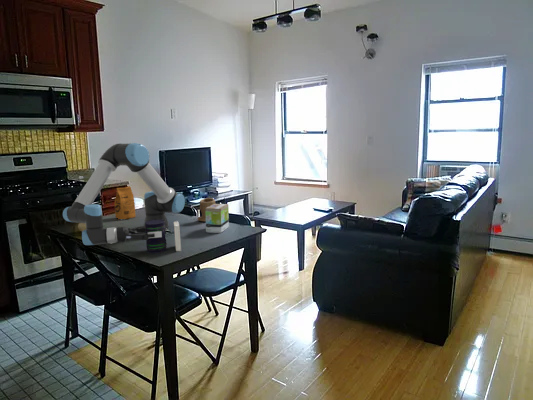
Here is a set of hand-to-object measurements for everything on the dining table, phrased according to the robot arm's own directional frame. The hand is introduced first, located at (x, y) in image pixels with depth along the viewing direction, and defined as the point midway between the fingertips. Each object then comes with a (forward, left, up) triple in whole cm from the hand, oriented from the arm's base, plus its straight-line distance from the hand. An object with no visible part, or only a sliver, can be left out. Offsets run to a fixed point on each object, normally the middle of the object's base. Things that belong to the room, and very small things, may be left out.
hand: (161, 230), depth 203 cm
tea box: (-1, +45, -10) cm, 46 cm away
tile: (+5, +6, -10) cm, 13 cm away
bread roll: (-69, +4, -10) cm, 70 cm away
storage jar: (-2, -2, -10) cm, 11 cm away
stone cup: (-22, +62, -10) cm, 66 cm away
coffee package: (-81, +41, -10) cm, 91 cm away
